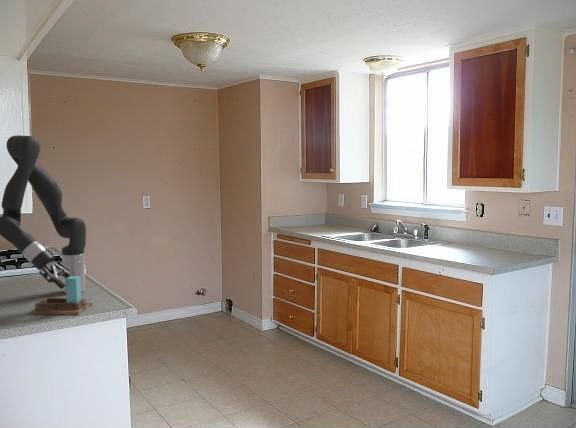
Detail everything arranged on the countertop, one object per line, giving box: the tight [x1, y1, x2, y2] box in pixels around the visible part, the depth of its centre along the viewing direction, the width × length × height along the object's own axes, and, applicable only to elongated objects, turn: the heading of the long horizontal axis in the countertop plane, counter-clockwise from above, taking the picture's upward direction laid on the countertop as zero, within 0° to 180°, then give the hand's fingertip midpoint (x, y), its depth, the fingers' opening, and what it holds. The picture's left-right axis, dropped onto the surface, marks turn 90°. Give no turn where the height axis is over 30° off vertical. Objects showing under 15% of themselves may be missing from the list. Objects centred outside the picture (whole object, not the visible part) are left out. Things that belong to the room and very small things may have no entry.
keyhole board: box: [30, 297, 93, 316], centre depth 204 cm, size 13×18×4 cm
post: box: [65, 276, 82, 303], centre depth 203 cm, size 4×4×12 cm
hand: (68, 284), depth 203 cm, fingers open, 8 cm apart
